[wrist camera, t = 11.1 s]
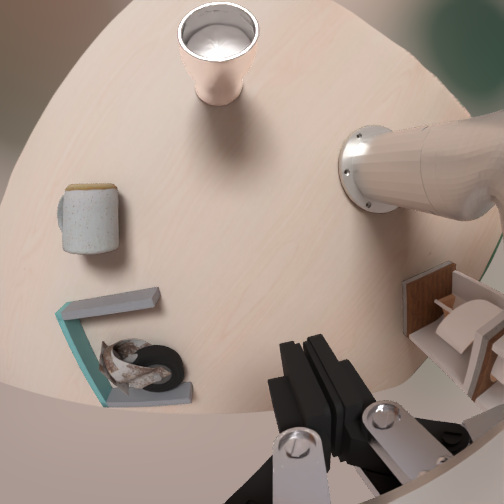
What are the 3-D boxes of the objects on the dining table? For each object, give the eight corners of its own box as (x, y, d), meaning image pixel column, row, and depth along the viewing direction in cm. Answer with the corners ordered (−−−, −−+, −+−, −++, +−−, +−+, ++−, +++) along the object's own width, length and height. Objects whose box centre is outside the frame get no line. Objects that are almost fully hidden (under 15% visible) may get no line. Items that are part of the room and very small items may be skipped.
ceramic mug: (126, 181, 33) (102, 182, 26) (127, 243, 35) (105, 259, 28) (62, 184, 32) (30, 187, 24) (64, 241, 34) (34, 255, 27)
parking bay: (158, 286, 37) (151, 298, 33) (192, 386, 42) (191, 403, 38) (66, 302, 36) (54, 313, 32) (109, 392, 41) (103, 407, 37)
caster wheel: (189, 359, 43) (142, 383, 42) (150, 313, 38) (99, 341, 37) (196, 388, 38) (144, 412, 36) (152, 342, 32) (95, 371, 31)
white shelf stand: (448, 260, 41) (601, 344, 8) (447, 310, 44) (570, 405, 11) (402, 281, 41) (568, 405, 7) (403, 333, 44) (528, 461, 10)
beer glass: (254, 72, 31) (274, 14, 17) (233, 116, 32) (242, 75, 18) (204, 56, 30) (197, -8, 15) (182, 99, 31) (159, 51, 17)
